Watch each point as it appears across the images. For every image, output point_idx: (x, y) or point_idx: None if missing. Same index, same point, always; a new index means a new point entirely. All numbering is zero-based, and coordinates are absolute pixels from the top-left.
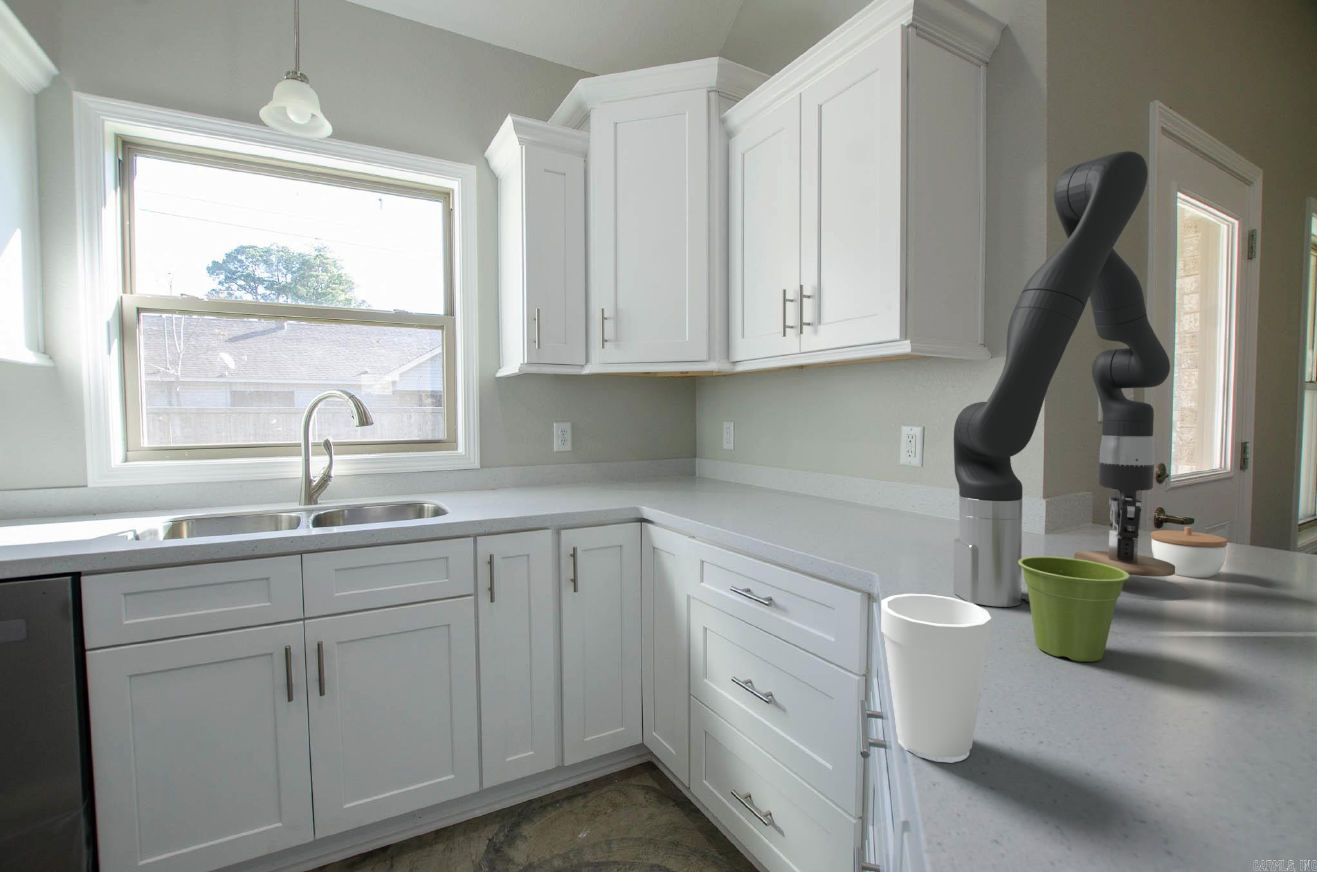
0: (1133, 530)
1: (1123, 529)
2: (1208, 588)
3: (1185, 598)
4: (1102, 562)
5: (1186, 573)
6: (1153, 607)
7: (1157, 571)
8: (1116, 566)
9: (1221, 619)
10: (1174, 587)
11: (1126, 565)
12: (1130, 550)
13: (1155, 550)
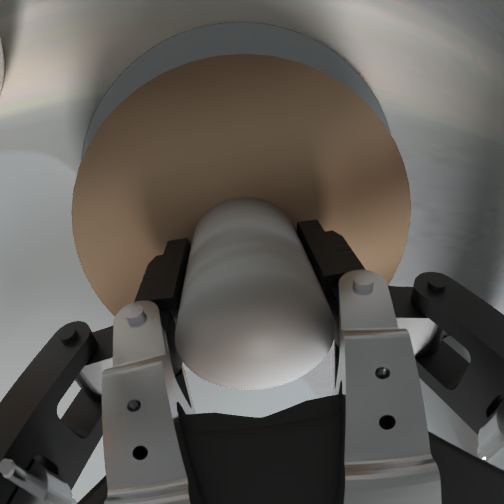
0: (430, 319)
1: (458, 353)
2: (75, 2)
3: (324, 47)
4: None
5: (2, 67)
6: (418, 138)
7: (389, 134)
8: (391, 259)
9: (438, 21)
10: (174, 64)
11: (357, 232)
12: (351, 253)
13: None
